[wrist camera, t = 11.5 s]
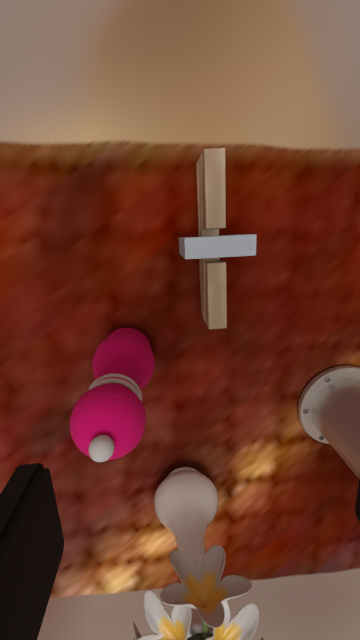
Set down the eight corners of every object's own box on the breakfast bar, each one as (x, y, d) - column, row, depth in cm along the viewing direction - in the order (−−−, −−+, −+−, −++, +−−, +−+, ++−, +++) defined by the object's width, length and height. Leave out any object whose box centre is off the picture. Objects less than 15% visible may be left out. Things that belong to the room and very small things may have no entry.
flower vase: (213, 420, 43) (283, 649, 19) (229, 516, 48) (300, 790, 24) (126, 437, 43) (86, 691, 19) (151, 532, 48) (145, 825, 24)
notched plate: (235, 251, 37) (256, 255, 29) (179, 254, 36) (185, 259, 29) (235, 234, 36) (256, 234, 29) (178, 237, 36) (184, 238, 28)
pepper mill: (90, 336, 39) (23, 436, 19) (140, 314, 38) (123, 394, 19) (115, 382, 41) (77, 513, 21) (163, 361, 40) (169, 476, 21)
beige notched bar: (213, 163, 34) (225, 148, 28) (216, 314, 39) (226, 328, 33) (196, 163, 34) (204, 148, 28) (201, 315, 39) (209, 329, 33)
